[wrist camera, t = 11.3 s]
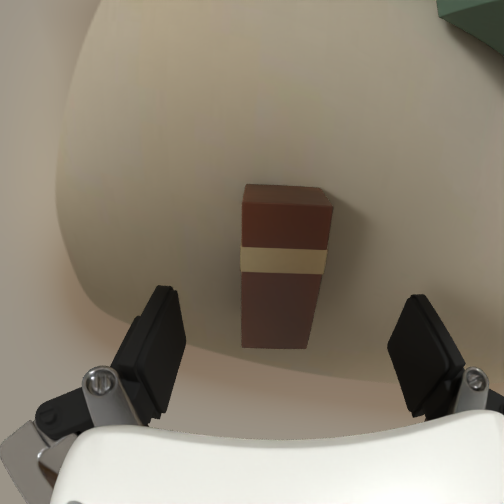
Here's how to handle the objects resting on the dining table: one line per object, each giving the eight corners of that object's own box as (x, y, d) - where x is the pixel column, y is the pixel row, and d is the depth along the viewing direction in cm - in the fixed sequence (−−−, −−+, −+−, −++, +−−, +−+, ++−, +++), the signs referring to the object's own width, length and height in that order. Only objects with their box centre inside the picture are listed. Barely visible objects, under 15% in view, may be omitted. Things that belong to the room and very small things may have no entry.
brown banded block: (243, 315, 16) (240, 348, 14) (244, 183, 12) (240, 201, 10) (302, 317, 16) (307, 349, 14) (321, 187, 12) (335, 206, 10)
